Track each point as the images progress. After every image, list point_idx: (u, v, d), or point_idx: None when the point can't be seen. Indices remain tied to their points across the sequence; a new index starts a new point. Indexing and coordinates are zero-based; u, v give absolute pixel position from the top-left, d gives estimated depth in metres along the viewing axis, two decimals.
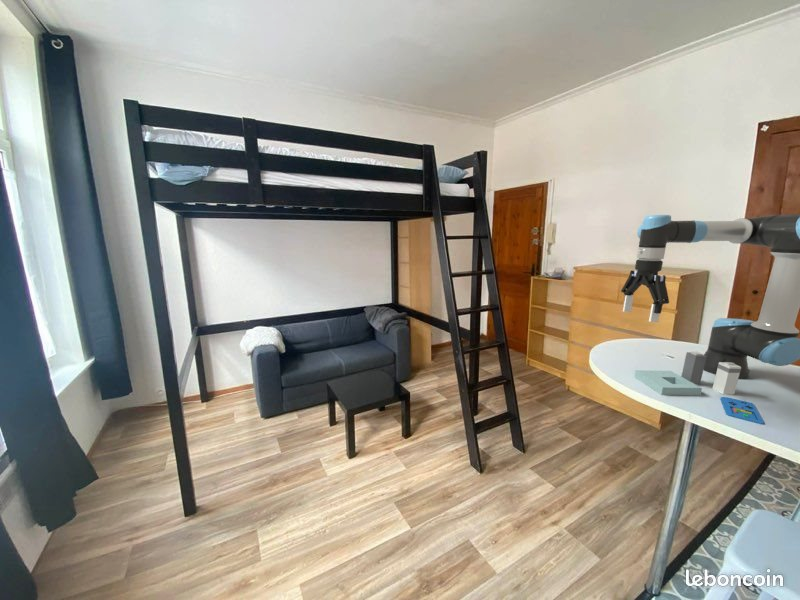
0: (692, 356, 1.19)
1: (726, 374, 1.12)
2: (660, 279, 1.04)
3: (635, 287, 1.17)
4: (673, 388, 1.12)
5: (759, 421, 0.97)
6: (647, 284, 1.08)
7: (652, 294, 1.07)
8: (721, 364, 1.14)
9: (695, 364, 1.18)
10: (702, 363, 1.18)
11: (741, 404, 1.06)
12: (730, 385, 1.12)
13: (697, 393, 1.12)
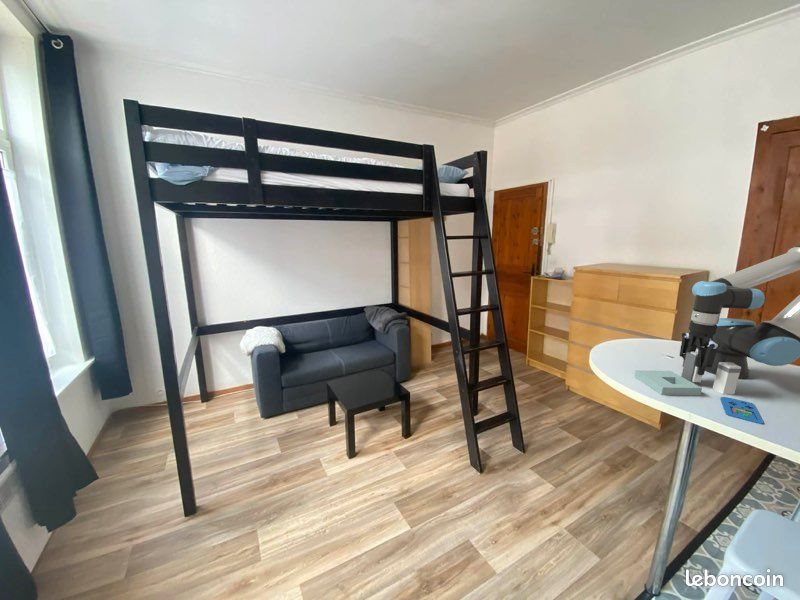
0: (692, 356, 1.19)
1: (726, 374, 1.12)
2: (713, 348, 1.12)
3: (692, 350, 1.21)
4: (673, 388, 1.12)
5: (759, 421, 0.97)
6: (698, 347, 1.17)
7: (699, 357, 1.17)
8: (721, 364, 1.14)
9: (695, 364, 1.18)
10: None
11: (741, 404, 1.06)
12: (730, 385, 1.12)
13: (697, 393, 1.12)
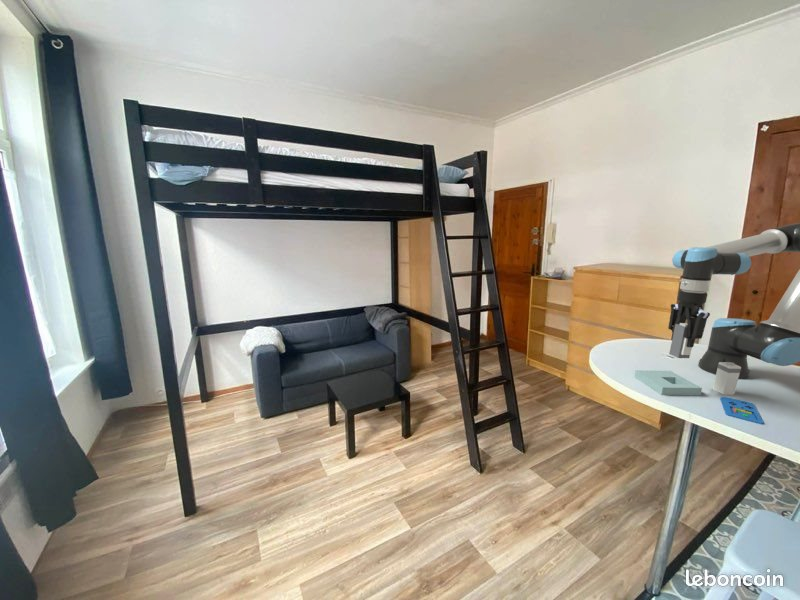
0: (681, 327, 1.12)
1: (726, 374, 1.12)
2: (703, 317, 1.05)
3: (681, 321, 1.14)
4: (673, 388, 1.12)
5: (759, 421, 0.97)
6: (688, 317, 1.10)
7: (688, 328, 1.10)
8: (721, 364, 1.14)
9: (684, 335, 1.11)
10: None
11: (741, 404, 1.06)
12: (730, 385, 1.12)
13: (697, 393, 1.12)
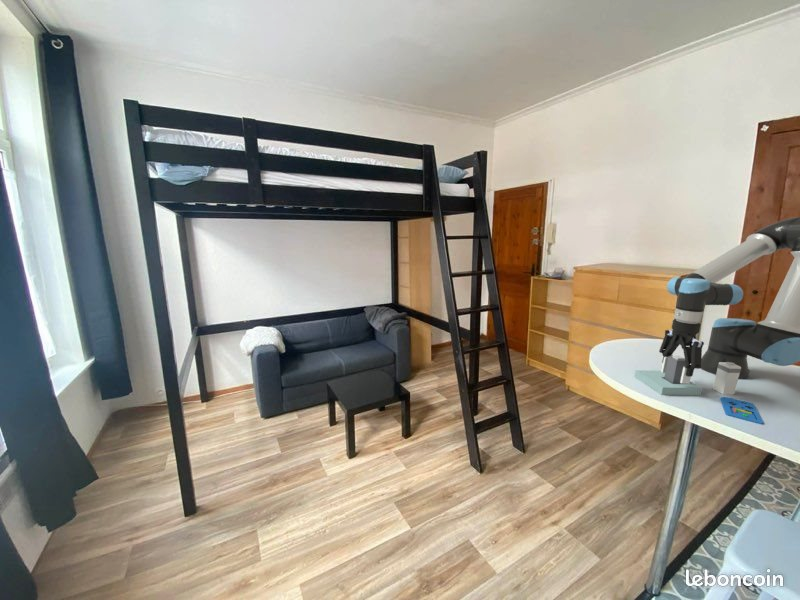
0: (674, 360, 1.15)
1: (726, 374, 1.12)
2: (698, 345, 1.07)
3: (673, 347, 1.18)
4: (673, 388, 1.12)
5: (758, 421, 0.97)
6: (683, 346, 1.12)
7: (686, 357, 1.11)
8: (721, 364, 1.14)
9: (677, 368, 1.14)
10: None
11: (741, 404, 1.06)
12: (730, 385, 1.12)
13: (697, 393, 1.12)
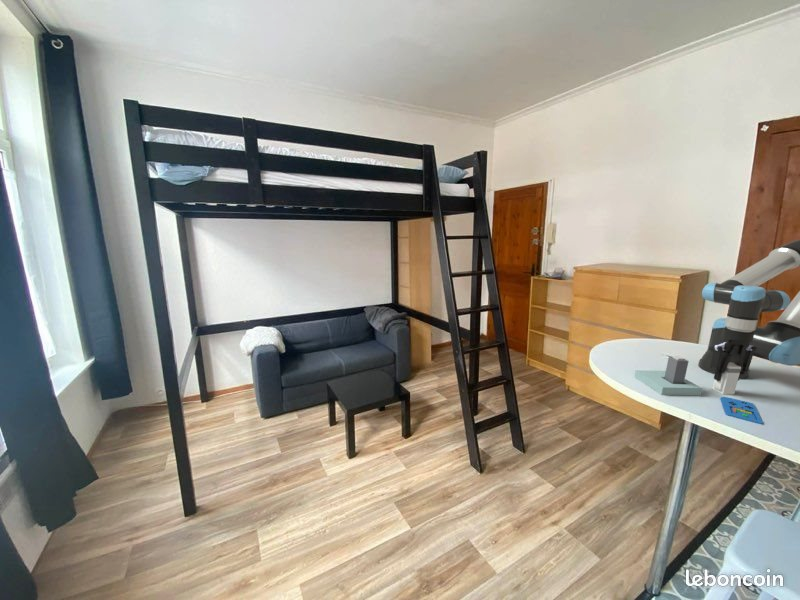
0: (674, 361, 1.15)
1: (726, 374, 1.12)
2: (714, 349, 1.12)
3: (736, 360, 1.12)
4: (673, 388, 1.12)
5: (758, 421, 0.97)
6: None
7: None
8: None
9: (677, 369, 1.14)
10: (684, 368, 1.14)
11: (741, 404, 1.06)
12: (730, 385, 1.12)
13: (697, 393, 1.12)
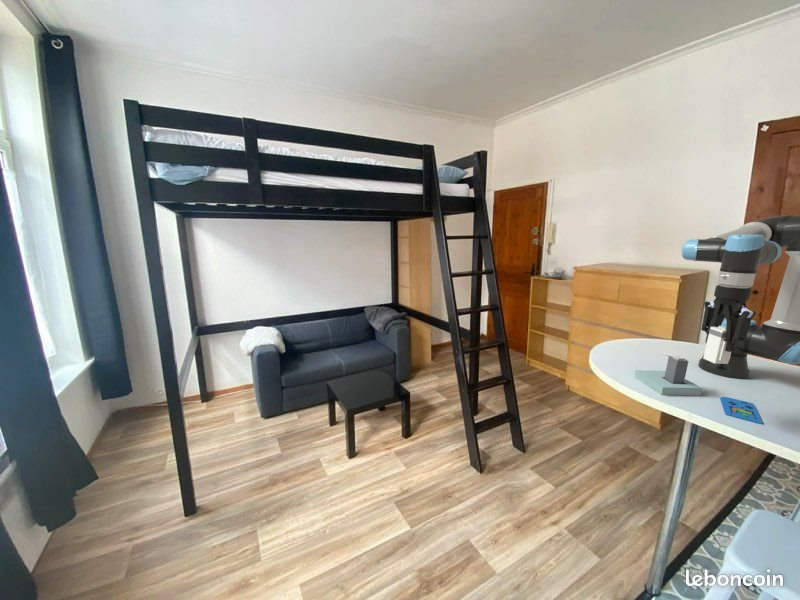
0: (674, 361, 1.15)
1: None
2: (747, 316, 0.89)
3: (718, 321, 0.98)
4: (673, 388, 1.12)
5: (758, 421, 0.97)
6: (727, 316, 0.94)
7: (728, 329, 0.94)
8: (725, 332, 0.95)
9: (677, 369, 1.14)
10: (684, 368, 1.14)
11: (741, 404, 1.06)
12: None
13: (697, 393, 1.12)
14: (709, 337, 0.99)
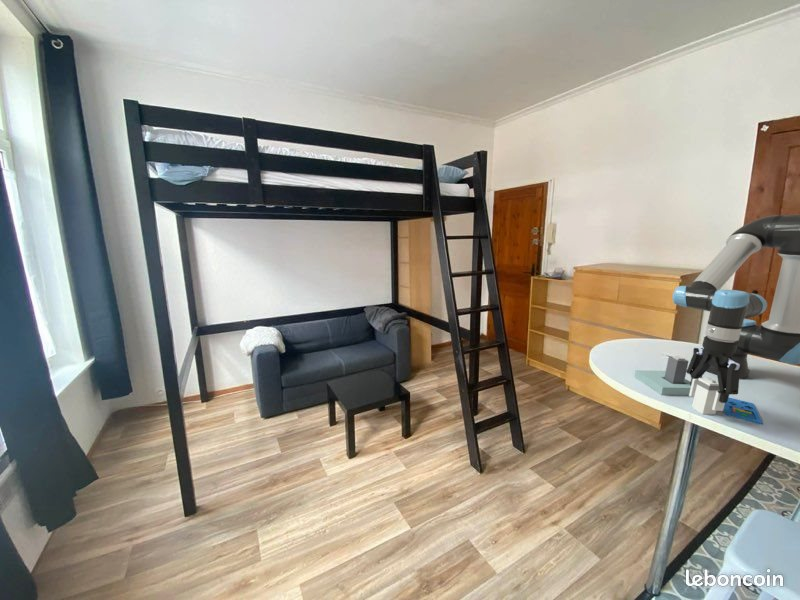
0: (674, 361, 1.15)
1: None
2: (735, 368, 0.93)
3: (704, 368, 1.03)
4: (673, 388, 1.12)
5: (758, 421, 0.97)
6: (716, 368, 0.97)
7: (719, 380, 0.96)
8: (712, 385, 0.99)
9: (677, 369, 1.14)
10: (684, 368, 1.14)
11: (741, 404, 1.06)
12: None
13: None
14: (697, 388, 1.03)
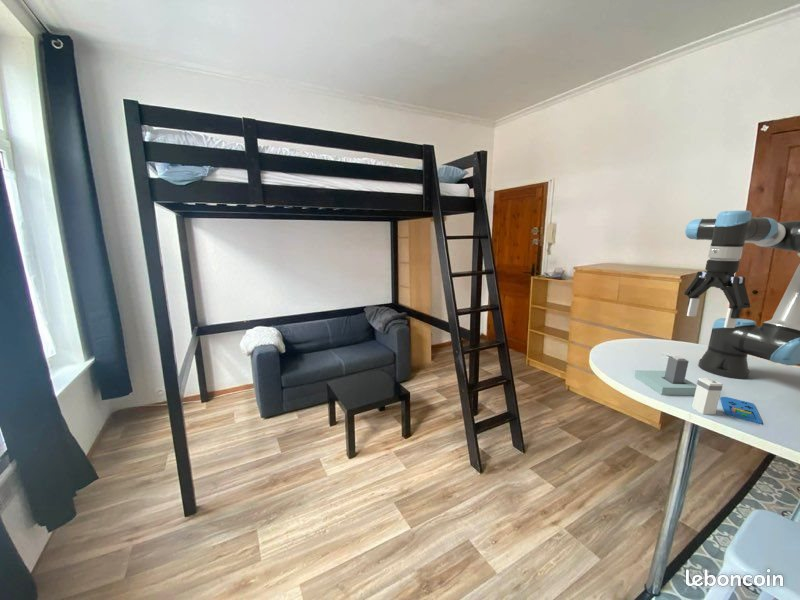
0: (674, 361, 1.15)
1: (718, 392, 0.99)
2: (739, 281, 0.95)
3: (703, 290, 1.07)
4: (673, 388, 1.12)
5: (757, 421, 0.97)
6: (722, 286, 0.99)
7: (728, 297, 0.98)
8: (712, 385, 0.99)
9: (677, 369, 1.14)
10: (684, 368, 1.14)
11: (741, 404, 1.06)
12: None
13: None
14: (697, 388, 1.03)
